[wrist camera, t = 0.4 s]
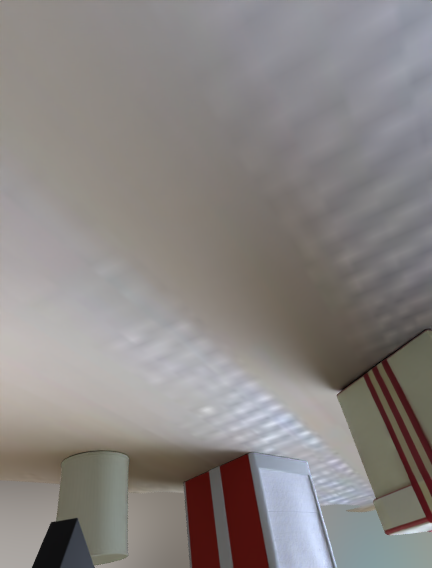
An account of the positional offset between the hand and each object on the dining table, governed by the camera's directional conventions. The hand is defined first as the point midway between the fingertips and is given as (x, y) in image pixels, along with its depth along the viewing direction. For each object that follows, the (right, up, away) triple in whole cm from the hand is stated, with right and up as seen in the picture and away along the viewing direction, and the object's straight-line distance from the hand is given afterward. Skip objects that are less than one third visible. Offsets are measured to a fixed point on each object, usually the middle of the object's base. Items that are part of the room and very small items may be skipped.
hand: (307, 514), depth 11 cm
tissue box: (+3, -28, +58) cm, 65 cm away
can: (-20, -18, +43) cm, 50 cm away
